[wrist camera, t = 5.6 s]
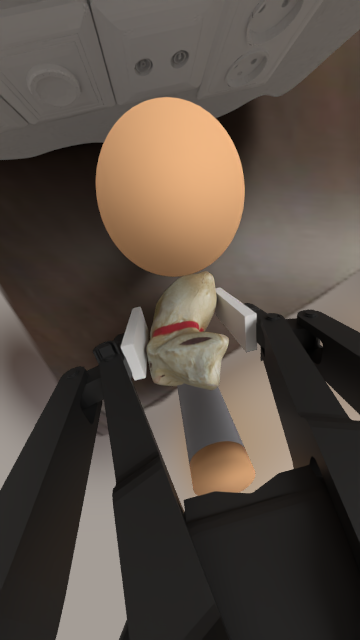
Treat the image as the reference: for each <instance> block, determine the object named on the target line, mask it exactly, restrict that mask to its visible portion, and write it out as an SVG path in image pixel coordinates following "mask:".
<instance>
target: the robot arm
mask: <svg viewBox="0 0 360 640" xmlns="http://www.w3.org/2000/svg"><path fill="white" fill-rule="evenodd" d="M216 296H217V302H216V308H215V313H216V316H217V317H218V318H219V320H220V321H221V322H222V323H223V325H224V326H225V327H226V328H227V329H228V331H229V332H230V333H231V334H232V335H233V337H234V338H235V339H236V340H237V342H238V343H239V344H240V345H241V346H242V348H243V349H244V350H245V351H246V352H250V351H254V350H257V343H258V344H259V345H260V346H261V361H262V360H263V361H264V365H265V368H266V372H267V375H268V379H269V382H270V385H271V389H272V392H273V396H274V399H275V403H276V406H277V409H278V413H279V416H280V420H281V423H282V426H283V430H284V433H285V437H286V440H287V444H288V447H289V451H290V454H291V457H292V461H293V467H294V469H293V470H289V471H285V472H282V473H279V474H277V475H276V476H275V477H273V478H272V479H271V480H269V481H268V482H267V483H265V484H264V485H263V486H261V487H260V488H259V489H258V490H256V491H255V492H253V493H233V492H219V491H214V492H210V493H207V494H203V495H200V496H196V497H193V498H189V499H186V500H184V506H185V512H184V510H183V508H182V505H181V503H180V501H179V498H178V496H177V493H176V491H175V488H174V485H173V483H172V481H171V478H170V475H169V473H168V470H167V468H166V465H165V463H164V461H163V458H162V455H161V453H160V450H159V448H158V445H157V443H156V440H155V438H154V435H153V433H152V430H151V428H150V425H149V423H148V420H147V418H146V415H145V413H144V410H143V407H142V405H141V402H140V400H139V397H138V395H137V392H136V390H135V387H134V385H133V382H132V380H131V378H132V376H133V378H134V380H139V379H143V378H146V367H147V351H146V348H147V344H148V333H149V331H148V328H147V325H146V322H145V319H144V316H143V312H142V309H141V307H136V308H133V309H132V312H131V315H130V318H129V321H128V325H127V328H126V331H125V333H123V334H119V335H117V336H116V337H115V338H114V341H107V342H104V343H101V344H99V345H98V346H97V347H95V348H94V350H93V353H94V355H95V357H96V359H97V361H98V363H99V365H98V366H97V367H95V368H92V369H90V370H88V371H86V369H85V368H84V367H81V366H80V367H75V368H72V369H70V370H69V371H67V372H66V373H65V374H64V375H63V376H62V377H61V379H60V380H59V382H58V384H57V386H56V388H55V390H54V392H53V393H52V396H51V397H50V399H49V401H48V403H47V405H46V407H45V408H44V410H43V412H42V414H41V416H40V418H39V419H38V421H37V423H36V425H35V427H34V429H33V431H32V432H31V434H30V436H29V438H28V440H27V442H26V444H25V446H24V447H23V449H22V451H21V453H20V455H19V457H18V459H17V461H16V462H15V464H14V466H13V468H12V470H11V472H10V474H9V475H8V477H7V479H6V481H5V483H4V485H3V487H2V488H1V490H0V640H55V639H56V635H57V632H58V627H59V622H60V618H61V614H62V609H63V605H64V600H65V596H66V590H67V585H68V580H69V574H70V569H71V564H72V559H73V553H74V548H75V542H76V538H77V532H78V527H79V522H80V517H81V511H82V506H83V501H84V496H85V490H86V485H87V480H88V475H89V469H90V464H91V459H92V453H93V448H94V443H95V438H96V432H97V427H98V422H99V417H100V411H101V406H102V400H103V399H104V403H105V410H106V417H107V423H108V430H109V437H110V444H111V449H112V457H113V463H114V470H115V477H116V486H115V488H113V494H112V497H113V508H114V516H115V524H116V532H117V541H118V549H119V557H120V565H121V573H122V581H123V589H124V597H125V605H126V614H127V621H126V623H125V626H124V628H123V631H122V633H121V636H120V638H119V640H360V421H354V420H351V419H350V418H349V417H348V415H347V414H346V413H345V411H344V409H343V408H342V406H341V405H340V403H339V401H338V400H337V398H336V397H335V395H334V394H333V392H332V391H331V389H330V388H329V386H328V385H327V383H328V384H329V385H330V386H331V387H332V388H333V389H334V390H335V391H336V392H337V393H338V394H339V395H340V396H341V397H342V398H343V399H345V401H346V402H348V404H350V406H352V407H353V408H354V409H355V410H356V411H357V412H358V413H359V414H360V333H359V332H358V331H356V330H354V329H352V328H350V327H348V326H346V325H344V324H342V323H341V322H339V321H337V320H335V319H333V318H331V317H329V316H327V315H325V314H323V313H322V312H319V311H314V310H303V311H300V312H298V314H297V318H296V319H285V318H284V317H283V316H282V315H279V314H275V313H269V314H267V313H266V312H264V311H263V310H261V309H259V308H258V307H256V306H255V305H253V304H250V303H245V304H243V303H241V302H240V301H238V300H237V299H236V298H234V297H233V296H231V295H230V294H229V293H227V292H226V291H224V290H223V289H222V288H216ZM320 340H321V342H322V343H323V347H322V346H321V345H320ZM325 381H326V382H327V383H326V382H325Z"/></svg>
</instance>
